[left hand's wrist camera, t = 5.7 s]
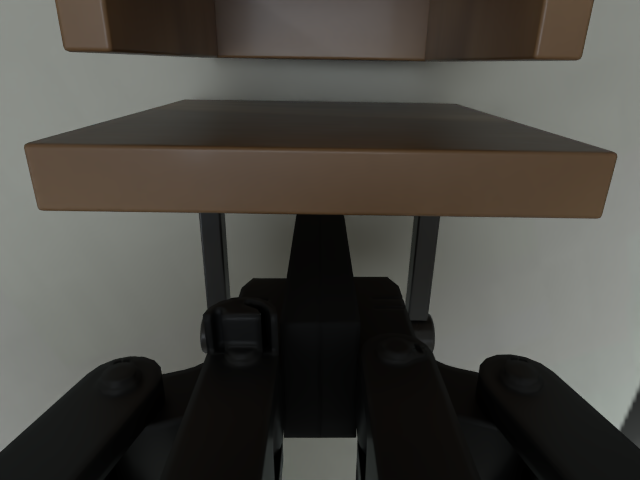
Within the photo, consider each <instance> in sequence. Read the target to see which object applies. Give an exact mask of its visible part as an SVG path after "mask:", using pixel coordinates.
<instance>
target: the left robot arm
mask: <svg viewBox="0 0 640 480" xmlns="http://www.w3.org/2000/svg"><path fill="white" fill-rule="evenodd" d="M203 320H204V329H205V338H206V347H207V356H206V358H205V361H204V363H202V364H200V365H198V366H195V367H192V368H189V369H185V370H181V371H176V372H172V373H167V374H162V373H161V367H160V366H159V365H158V364H157V363H156V362H155V361H154V360H151V359H149V358H146V357H131V356H130V357H124V358H119V359H115V360H112V361H110V362H107V363H105V364H102V365H100V366H98V367H97V368H96V369H94V370H93V371H91V372H90V373H88V374H87V375H86V376H85V377H84V378H82V379H81V380H80V381H79V382H78V383H77V384H76V385H75V386H74V387H72V388H71V389H70V390H69V391H68V392H67V393H66V394H65V395H64V396H62V397H61V398H60V399H59V400H58V401H57V402H56V403H55V404H53V405H52V406H51V407H50V408H49V409H48V410H47V411H46V412H45V413H43V414H42V415H41V416H40V417H39V418H38V419H37V420H36V421H35V422H33V423H32V424H31V425H30V426H29V427H28V428H27V429H26V430H24V431H23V432H22V433H21V434H20V435H19V436H18V437H17V438H16V439H14V440H13V441H12V442H11V443H10V444H9V445H8V446H7V447H6V448H4V449H3V450H2V451H1V452H0V480H282V469H283V432H284V438H356V428H357V438H358V441H357V465H356V480H640V449H639V448H638V447H637V446H636V445H635V444H634V443H633V442H631V441H630V440H629V439H628V438H627V437H626V436H625V435H624V434H622V433H621V432H620V431H619V430H618V429H617V428H616V427H615V426H613V425H612V424H611V423H610V422H609V421H608V420H607V419H606V418H605V417H603V416H602V415H601V414H600V413H599V412H598V411H597V410H596V409H594V408H593V407H592V406H591V405H590V404H589V403H588V402H587V401H585V400H584V399H583V398H582V397H581V396H580V395H579V394H578V393H576V392H575V391H574V390H573V389H572V388H571V387H570V386H569V385H567V384H566V383H565V382H564V381H563V380H562V379H561V378H560V377H558V376H557V375H556V374H555V373H554V372H553V371H551V370H550V369H548V368H547V367H545V366H544V365H542V364H541V363H538V362H536V361H533V360H531V359H529V358H526V357H522V356H517V355H511V354H510V355H495V356H492V357H489V358H486V359H485V360H484V361H483V363H482V364H481V365H480V368H479V373H478V372H473V371H468V370H464V369H459V368H455V367H451V366H448V365H445V364H443V363H440V362H438V361H436V360H435V358H434V355H433V353H432V351H431V350H430V349H429V347H428V346H427V345H426V344H425V343H423V342H422V341H420V340H419V339H417V338H416V335H415V332H414V329H413V326H412V323H411V320H410V318H409V315H408V312H407V309H406V306H405V303H404V300H403V299H402V295H401V292H400V289H399V286H398V285H396V284H395V283H394V282H393V281H392V280H390V279H389V278H388V277H353V271H352V265H351V258H350V252H349V245H348V239H347V232H346V226H345V219H344V215H316V214H297V215H296V221H295V228H294V234H293V241H292V247H291V254H290V260H289V267H288V273H287V278H253V279H252V280H250V281H249V282H248V283H247V284H246V285H245V286H243V287H242V289H241V292H240V294H239V297H237V298H230V299H227V300H223V301H220V302H218V303H216V304H214V305H213V306H211V307H209V308H208V309H207V311H206V312H205V313H204V314H203Z"/></svg>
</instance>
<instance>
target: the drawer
mask: <svg viewBox="0 0 640 480" xmlns="http://www.w3.org/2000/svg"><path fill="white" fill-rule="evenodd" d="M593 2H594V0H55V3H56V8H57V14H58V19H59V25H60V30H61V36H62V41H63V46H64V48H65V50H67V51H69V52H85V53H109V54H132V55H155V56H179V57H202V58H261V59H320V60H380V61H439V62H442V61H564V60H579V59H581V57H582V53H583V49H584V44H585V39H586V35H587V30H588V26H589V21H590V16H591V12H592V7H593ZM24 149H25V154H26V158H27V163H28V167H29V171H30V176H31V180H32V184H33V189H34V193H35V197H36V202H37V206H38V208H39V210H43V211H108V212H178V213H199V219H200V230H201V241H202V253H203V264H204V275H205V286H206V297H207V308H209V307H211V306H213V305H214V304H216V303H218V302H220V301H223V300H227V299H230V286H229V271H228V256H227V241H226V226H225V213H247V214H316V215H386V216H414V222H413V232H412V243H411V253H410V263H409V273H408V283H407V293H406V303H405V306H406V309H407V312H408V315H409V318H410V320H411V323H412V326H413V329H414V332H415V335H416V338H417V339H419V340H420V341H422V342H423V343H425V344H426V345H427V346H428V347H429V349H430V350H431V351H432V353H433V350H434V344H435V331H434V324H433V320H432V317H431V315H430V314H428V311H429V303H430V295H431V286H432V278H433V270H434V262H435V254H436V245H437V237H438V229H439V221H440V216H455V217H524V218H594V219H596V218H600V217H601V216H602V213H603V209H604V205H605V201H606V198H607V194H608V190H609V186H610V182H611V179H612V175H613V171H614V167H615V163H616V160H617V154H616V153H615V152H612V151H609V150H606V149H602V148H599V147H596V146H592V145H589V144H586V143H583V142H579V141H576V140H573V139H569V138H566V137H563V136H559V135H556V134H553V133H550V132H546V131H543V130H540V129H536V128H533V127H530V126H527V125H523V124H520V123H517V122H513V121H510V120H507V119H504V118H500V117H497V116H494V115H490V114H487V113H484V112H480V111H477V110H474V109H471V108H467V107H464V106H461V105H457V104H422V103H360V102H299V101H237V100H182V101H178V102H174V103H171V104H167V105H164V106H160V107H156V108H153V109H149V110H145V111H142V112H138V113H135V114H131V115H127V116H124V117H120V118H116V119H113V120H109V121H105V122H102V123H98V124H95V125H91V126H87V127H84V128H80V129H76V130H73V131H69V132H66V133H62V134H58V135H55V136H51V137H47V138H44V139H40V140H37V141H33V142H29V143H27V144H25V145H24ZM200 342H201V348H202V351H203V352H204V353H207V347H206V338H205V329H204V320H203V319H202V323H201V331H200Z"/></svg>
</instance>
